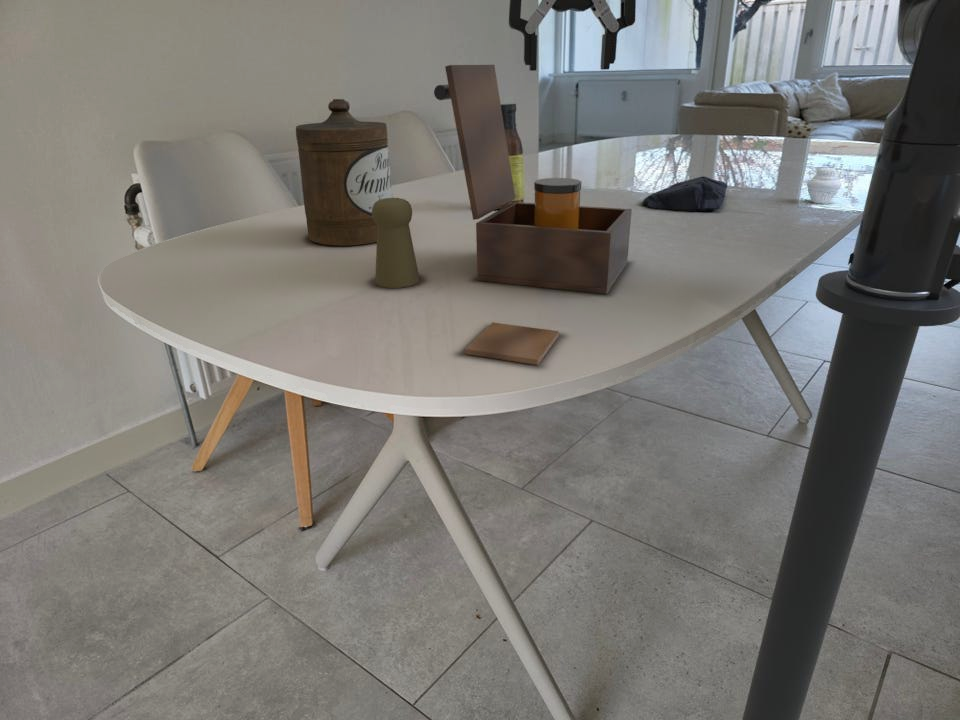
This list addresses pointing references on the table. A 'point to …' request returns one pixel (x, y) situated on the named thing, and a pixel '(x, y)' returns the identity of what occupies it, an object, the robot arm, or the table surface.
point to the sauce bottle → (513, 151)
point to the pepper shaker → (394, 244)
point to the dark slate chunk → (689, 195)
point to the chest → (553, 249)
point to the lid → (480, 135)
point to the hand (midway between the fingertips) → (569, 70)
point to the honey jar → (557, 202)
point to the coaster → (513, 343)
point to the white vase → (823, 186)
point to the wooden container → (343, 176)
